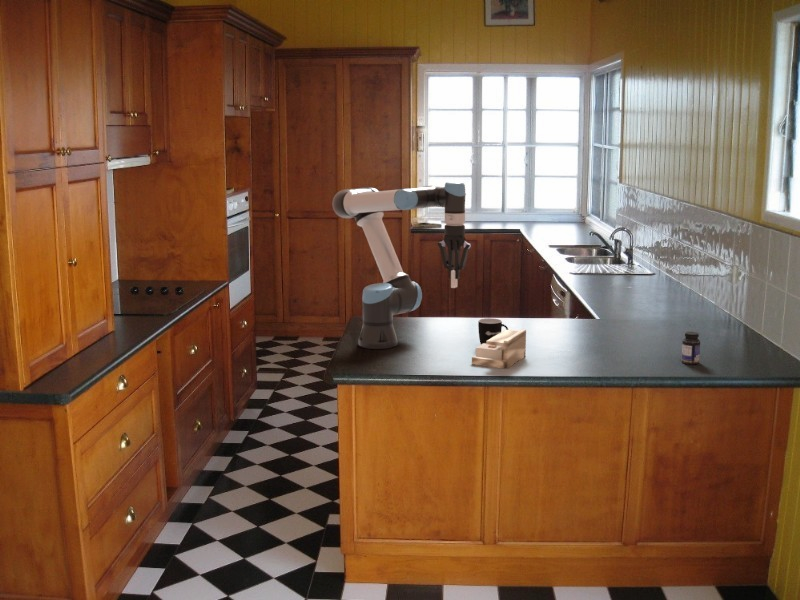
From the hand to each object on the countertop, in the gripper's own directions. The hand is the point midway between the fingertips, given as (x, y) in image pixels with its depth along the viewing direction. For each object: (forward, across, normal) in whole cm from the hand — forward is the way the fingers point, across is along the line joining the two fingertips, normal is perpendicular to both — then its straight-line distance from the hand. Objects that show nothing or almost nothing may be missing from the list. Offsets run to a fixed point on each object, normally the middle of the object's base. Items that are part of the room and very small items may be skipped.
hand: (454, 287), depth 330 cm
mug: (+25, +11, +13) cm, 30 cm away
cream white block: (+25, +18, -5) cm, 31 cm away
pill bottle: (+25, +83, +22) cm, 89 cm away
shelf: (+24, +20, -5) cm, 32 cm away
